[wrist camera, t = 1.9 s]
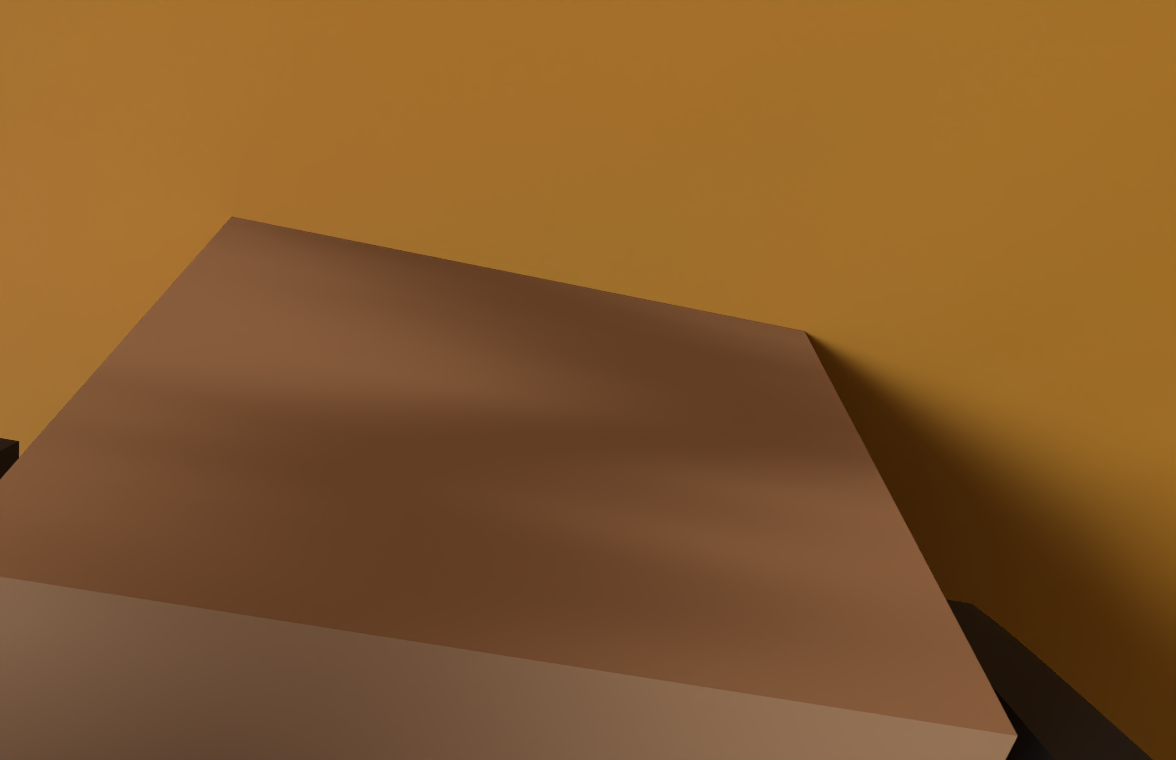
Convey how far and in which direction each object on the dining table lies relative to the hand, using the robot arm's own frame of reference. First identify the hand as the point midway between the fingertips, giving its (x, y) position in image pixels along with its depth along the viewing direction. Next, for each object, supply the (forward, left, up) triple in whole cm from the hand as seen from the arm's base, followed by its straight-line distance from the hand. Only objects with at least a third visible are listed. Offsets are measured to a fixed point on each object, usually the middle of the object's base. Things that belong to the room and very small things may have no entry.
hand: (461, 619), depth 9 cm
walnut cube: (0, 0, -2) cm, 2 cm away
